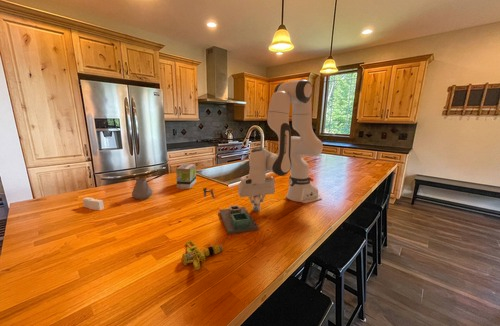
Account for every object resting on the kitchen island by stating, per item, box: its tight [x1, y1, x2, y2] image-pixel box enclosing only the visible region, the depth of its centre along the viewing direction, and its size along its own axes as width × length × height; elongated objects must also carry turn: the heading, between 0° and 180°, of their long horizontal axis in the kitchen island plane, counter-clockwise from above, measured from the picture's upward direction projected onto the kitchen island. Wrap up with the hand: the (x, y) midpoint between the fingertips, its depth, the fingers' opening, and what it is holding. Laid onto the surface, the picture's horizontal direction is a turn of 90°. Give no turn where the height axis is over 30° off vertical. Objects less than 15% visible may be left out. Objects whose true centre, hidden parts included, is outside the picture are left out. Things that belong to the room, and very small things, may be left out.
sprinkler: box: [180, 240, 224, 271], centre depth 75 cm, size 19×4×15 cm
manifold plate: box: [218, 204, 259, 236], centre depth 100 cm, size 14×22×4 cm, turn 18°
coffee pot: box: [131, 171, 169, 201], centre depth 127 cm, size 21×12×15 cm, turn 111°
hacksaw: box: [203, 187, 217, 200], centre depth 134 cm, size 24×10×2 cm, turn 14°
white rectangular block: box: [82, 196, 105, 211], centre depth 111 cm, size 15×11×6 cm
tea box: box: [175, 163, 197, 190], centre depth 149 cm, size 15×10×15 cm
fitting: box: [252, 194, 262, 213], centre depth 111 cm, size 4×4×10 cm
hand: (256, 202), depth 111 cm, fingers closed on fitting, 4 cm apart
